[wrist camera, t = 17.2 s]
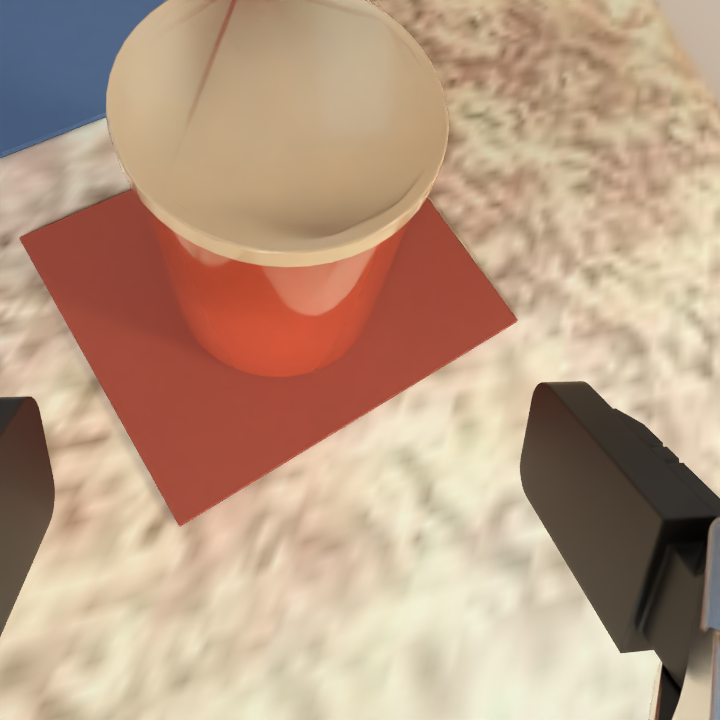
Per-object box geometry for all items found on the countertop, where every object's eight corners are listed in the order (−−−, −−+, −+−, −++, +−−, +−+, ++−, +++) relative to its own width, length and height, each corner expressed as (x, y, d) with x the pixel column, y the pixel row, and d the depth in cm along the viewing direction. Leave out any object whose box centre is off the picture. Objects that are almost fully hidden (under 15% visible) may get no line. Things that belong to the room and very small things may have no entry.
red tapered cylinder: (237, 425, 18) (215, 316, 11) (129, 245, 20) (43, 36, 12) (422, 318, 20) (514, 162, 13) (312, 162, 21) (335, -64, 14)
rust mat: (180, 526, 17) (179, 525, 17) (21, 240, 19) (18, 237, 19) (515, 322, 21) (518, 320, 20) (350, 98, 23) (351, 94, 23)
